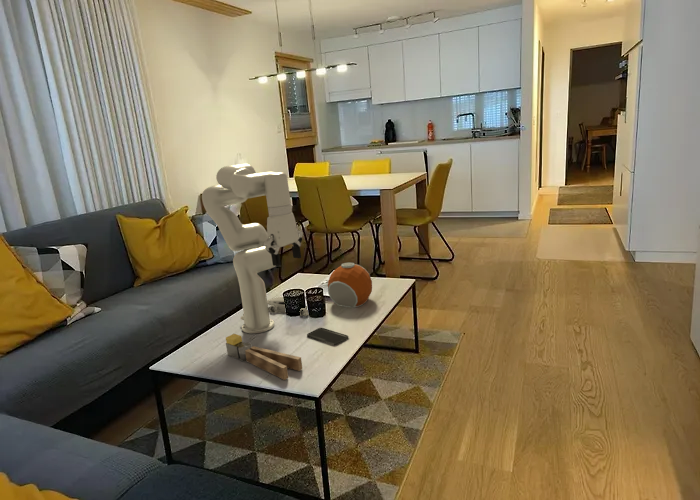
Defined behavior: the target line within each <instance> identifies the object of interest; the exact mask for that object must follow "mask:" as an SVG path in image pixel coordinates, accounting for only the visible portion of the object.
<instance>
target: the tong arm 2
mask: <svg viewBox="0 0 700 500" xmlns="http://www.w3.org/2000/svg"><path fill="white" fill-rule="evenodd" d="M250 349H251V350H252V351H255V352H257V353H259V354H261V355H263V356H266V357H268V358H270V359H272V360H274V361H276V362H279V363H281V364H283V365H285V366H287V369H289V370H294V371H297V372H300V371H302V370H303V362H302V357H300V356H297V355H294V354H293V355H292V354H289V353H284V352H279V351H276V350H272V349H266V348H262V347H257V346H255V345H253V346H252V347H251V348H250Z"/></svg>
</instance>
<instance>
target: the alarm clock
mask: <svg viewBox="0 0 700 500" xmlns="http://www.w3.org/2000/svg"><path fill="white" fill-rule="evenodd" d="M371 277H372V276H371V275H370V273H369V272H368V271H367V269H366V268H364V267H363V266H362V265H360V264H355V263H354V262H344V263H341V265H340V266H338V267H337V268H335V269H334V270H333V271H332V273H330V276H329V278H328V280H327V281H328V282H327V292H328V296H329V298H330V299H331V301H332V302H333V303H334V304H335V305H337V306H341V307H345V308H346V307H347V308H357V307H361V306H363V305H364V304H365V303H366V302H367V301H368V300H369V298H370V296H371V294H372V292H373V291H372V290H373V281H372V278H371Z"/></svg>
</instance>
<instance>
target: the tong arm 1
mask: <svg viewBox="0 0 700 500" xmlns="http://www.w3.org/2000/svg"><path fill="white" fill-rule="evenodd" d="M245 353H246V360H247V361H246V362H247V363H249V364H251V365H253V366H254V367H256V368H259V369H261V370H263V371H265V372H267V373H269V374H272V375H273V376H275V377H277V378H280V380H281V379H282V380H283V381H286V380H288V379H289V373H288V368H287V366H285V365H283V364H281V363H279V362H276V361H274V360H272V359H270V358H268V357H266V356H263V355H261V354H259V353H257V352H255V351H252V350H250V349H247V350H245Z"/></svg>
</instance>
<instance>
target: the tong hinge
mask: <svg viewBox="0 0 700 500" xmlns="http://www.w3.org/2000/svg"><path fill="white" fill-rule="evenodd" d="M225 347H226V348H225V349H226V354H227V356H229V357H232V358H234V359H236V360H240V362H247V360H246V353H245V350H247V349H250V348H251V347H253V346H252V344H251V343H248V342H244V341H242V342H240V343H238V344H236V345H231V344H228V343H226V342H225ZM250 350H251V349H250Z"/></svg>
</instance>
